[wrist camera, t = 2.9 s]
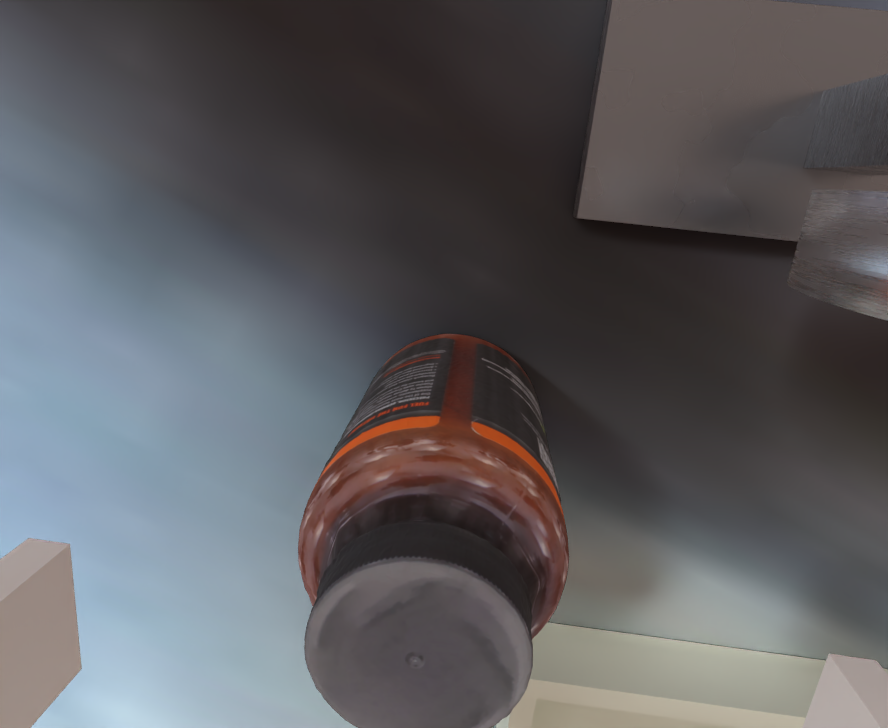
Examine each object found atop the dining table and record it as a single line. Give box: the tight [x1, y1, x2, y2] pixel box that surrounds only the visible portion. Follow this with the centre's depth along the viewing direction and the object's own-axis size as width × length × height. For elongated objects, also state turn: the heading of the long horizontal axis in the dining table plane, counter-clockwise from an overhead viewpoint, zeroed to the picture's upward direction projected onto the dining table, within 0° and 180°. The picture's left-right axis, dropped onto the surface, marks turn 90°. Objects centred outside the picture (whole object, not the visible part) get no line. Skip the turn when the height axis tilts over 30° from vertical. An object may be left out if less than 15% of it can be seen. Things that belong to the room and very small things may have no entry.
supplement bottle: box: [298, 334, 569, 728], centre depth 15 cm, size 6×6×11 cm
